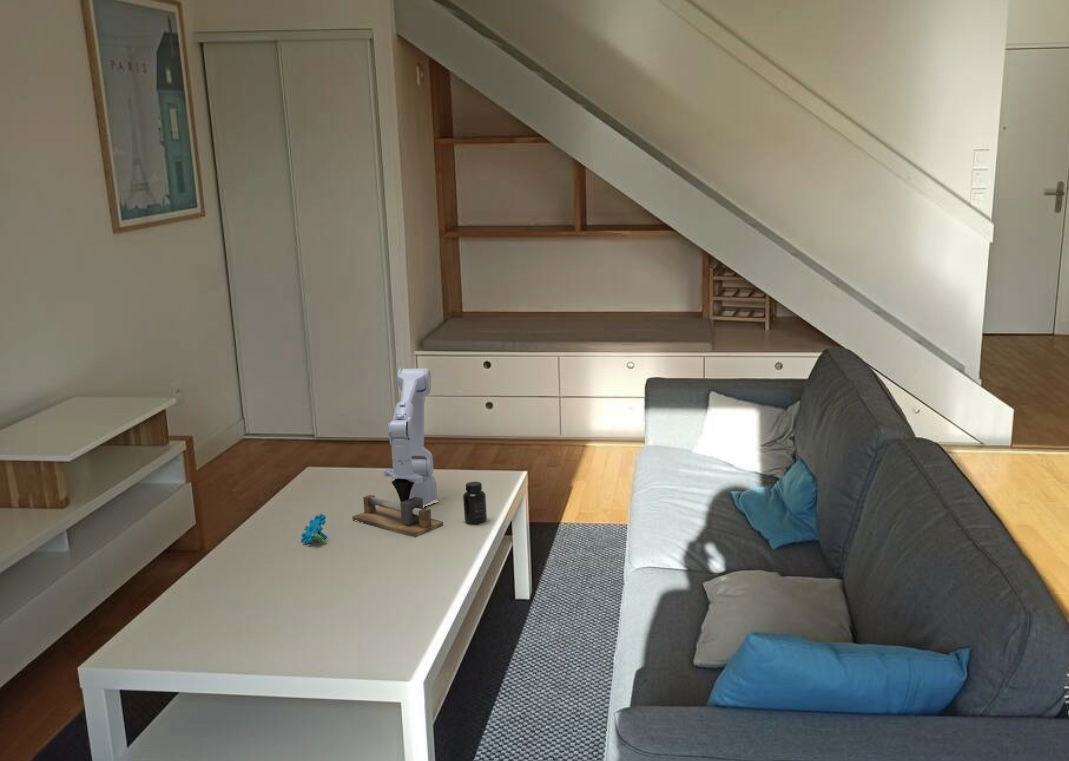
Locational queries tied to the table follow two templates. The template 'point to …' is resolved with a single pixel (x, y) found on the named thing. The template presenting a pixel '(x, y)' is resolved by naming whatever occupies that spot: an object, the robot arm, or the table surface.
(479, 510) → the supplement bottle
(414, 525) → the pipe stand
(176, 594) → the table surface
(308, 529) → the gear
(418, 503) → the collar
